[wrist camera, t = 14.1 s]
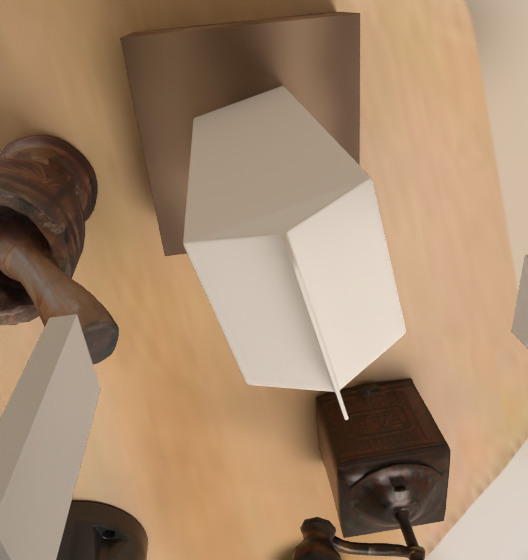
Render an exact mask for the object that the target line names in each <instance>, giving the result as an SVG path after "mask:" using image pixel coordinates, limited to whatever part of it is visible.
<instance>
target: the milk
mask: <svg viewBox="0 0 528 560" xmlns="http://www.w3.org/2000/svg"><path fill="white" fill-rule="evenodd" d="M183 244H184V247H185V250H186V252H187V254H188V256H189V258H190V261H191V263H192V265H193V267H194V269H195V272H196V274H197V276H198V278H199V280H200V283H201V285H202V287H203V289H204V291H205V294H206V296H207V298H208V300H209V302H210V305H211V307H212V309H213V311H214V313H215V316H216V318H217V320H218V322H219V324H220V327H221V329H222V331H223V333H224V335H225V338H226V340H227V342H228V344H229V346H230V349H231V351H232V353H233V355H234V357H235V360H236V362H237V364H238V366H239V368H240V371H241V373H242V375H243V377H244V379H245V381H246V383H247V384H249V385H256V386H268V387H280V388H293V389H305V390H317V391H330V392H335V393H336V395H337V398H338V401H339V404H340V407H341V410H342V413H343V416H344V419H345V420H348V415H347V412H346V409H345V406H344V403H343V400H342V397H341V394H340V390H341V389H342V388H343V387H344V386H345V385H346V384H347V383H349V382H350V381H351V380H352V379H353V378H354V377H356V376H357V375H358V374H359V373H360V372H361V371H363V370H364V369H365V368H366V367H367V366H368V365H370V364H371V363H372V362H373V361H374V360H375V359H377V358H378V357H379V356H380V355H381V354H382V353H384V352H385V351H386V350H387V349H388V348H389V347H391V346H392V345H393V344H394V343H395V342H396V341H398V340H399V339H400V338H401V337H402V336H403V335H404V334H405V333H406V327H405V323H404V318H403V314H402V310H401V305H400V301H399V296H398V292H397V287H396V283H395V278H394V274H393V270H392V265H391V261H390V256H389V252H388V247H387V243H386V239H385V234H384V230H383V225H382V221H381V216H380V212H379V208H378V203H377V199H376V194H375V190H374V185H373V181H372V179H371V177H370V176H369V175H368V174H367V173H366V172H365V171H364V170H363V169H362V167H361V166H360V165H359V164H358V163H357V162H356V161H355V160H354V159H353V158H352V157H351V156H350V155H349V154H348V153H347V152H346V151H345V150H344V149H343V148H342V147H341V146H340V145H339V143H338V142H337V141H336V140H335V139H334V138H333V137H332V136H331V135H330V134H329V133H328V132H327V131H326V130H325V129H324V128H323V127H322V126H321V125H320V124H319V123H318V122H317V120H316V119H315V118H314V117H313V116H312V115H311V114H310V113H309V112H308V111H307V110H306V109H305V108H304V107H303V106H302V105H301V104H300V103H299V102H298V101H297V100H296V99H295V98H294V96H293V95H292V94H291V93H290V92H289V91H288V90H287V89H286V88H285V87H284V86H280V87H278V88H275V89H272V90H269V91H267V92H264V93H261V94H258V95H256V96H253V97H250V98H247V99H245V100H242V101H239V102H237V103H234V104H231V105H228V106H226V107H223V108H220V109H217V110H215V111H212V112H209V113H206V114H204V115H201V116H198V117H195V118H194V120H193V131H192V143H191V155H190V167H189V179H188V191H187V202H186V214H185V226H184V238H183Z"/></svg>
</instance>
